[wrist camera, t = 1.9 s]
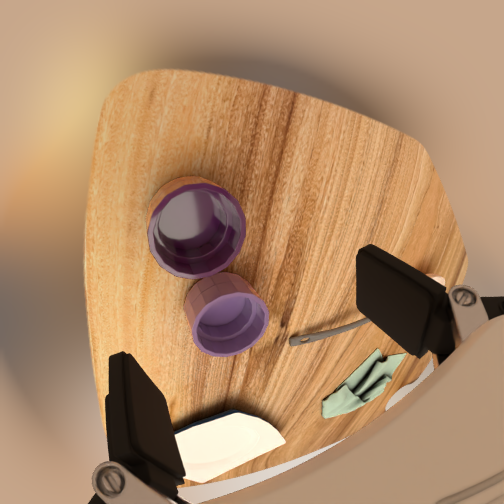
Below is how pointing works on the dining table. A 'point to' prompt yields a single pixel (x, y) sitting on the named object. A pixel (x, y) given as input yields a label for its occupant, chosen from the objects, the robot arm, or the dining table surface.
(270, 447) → the plate
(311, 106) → the dining table surface
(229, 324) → the lavender bowl
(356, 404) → the cloth
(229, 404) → the dining table surface
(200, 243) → the plum bowl
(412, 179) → the dining table surface
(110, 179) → the dining table surface
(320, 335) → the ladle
